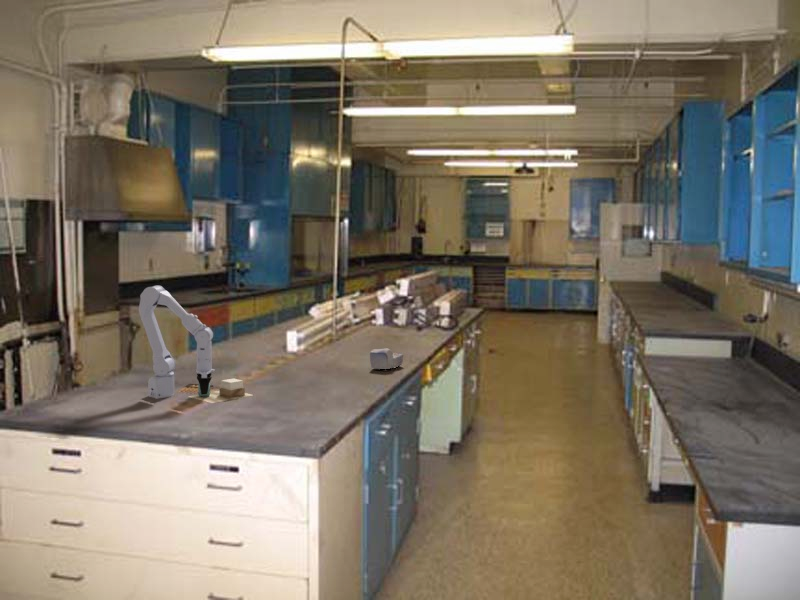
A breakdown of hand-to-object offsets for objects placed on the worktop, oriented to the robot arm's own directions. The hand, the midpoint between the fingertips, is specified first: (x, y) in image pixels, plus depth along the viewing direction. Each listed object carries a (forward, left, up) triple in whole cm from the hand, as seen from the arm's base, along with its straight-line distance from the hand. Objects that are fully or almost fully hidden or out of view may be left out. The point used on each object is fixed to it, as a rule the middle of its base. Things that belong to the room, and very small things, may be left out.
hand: (204, 392), depth 299 cm
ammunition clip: (+9, +14, -1) cm, 17 cm away
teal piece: (0, 0, -1) cm, 1 cm away
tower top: (+9, -7, +2) cm, 11 cm away
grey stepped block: (+101, -7, -2) cm, 101 cm away
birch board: (+5, -4, -2) cm, 7 cm away
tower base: (+9, -7, -1) cm, 11 cm away
